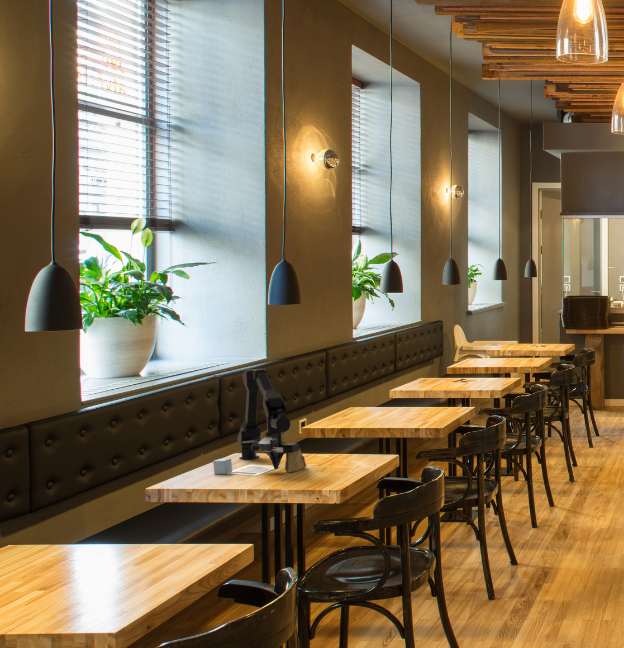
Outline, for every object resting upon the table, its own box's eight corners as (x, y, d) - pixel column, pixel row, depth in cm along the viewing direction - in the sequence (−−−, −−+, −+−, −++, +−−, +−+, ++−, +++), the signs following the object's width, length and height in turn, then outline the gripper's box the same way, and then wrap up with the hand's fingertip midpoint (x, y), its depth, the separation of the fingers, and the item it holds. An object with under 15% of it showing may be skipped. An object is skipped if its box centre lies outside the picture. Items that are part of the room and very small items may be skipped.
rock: (303, 458, 321) (280, 455, 318) (311, 445, 316) (288, 442, 313) (306, 481, 314) (283, 477, 310) (315, 468, 308) (291, 464, 305)
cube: (221, 471, 318) (220, 458, 318) (232, 471, 315) (231, 458, 315) (214, 473, 313) (213, 460, 313) (224, 473, 311) (223, 461, 311)
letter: (251, 464, 328) (251, 464, 328) (280, 466, 321) (280, 466, 321) (225, 473, 312) (225, 473, 312) (256, 476, 305) (256, 475, 305)
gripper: (242, 431, 309) (244, 471, 309) (284, 433, 300) (285, 474, 300) (258, 426, 318) (260, 466, 319) (299, 428, 309) (301, 469, 309)
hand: (276, 469), depth 311 cm, fingers closed
